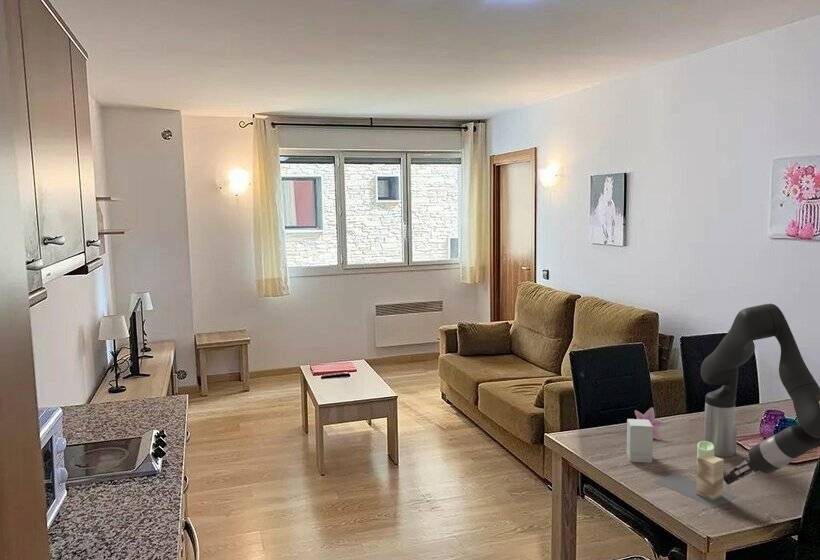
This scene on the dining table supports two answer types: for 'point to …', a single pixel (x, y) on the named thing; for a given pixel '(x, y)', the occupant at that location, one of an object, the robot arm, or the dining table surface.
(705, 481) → the block
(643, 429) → the supplement box
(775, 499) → the dining table surface
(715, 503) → the mat
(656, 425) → the lily
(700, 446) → the candle
